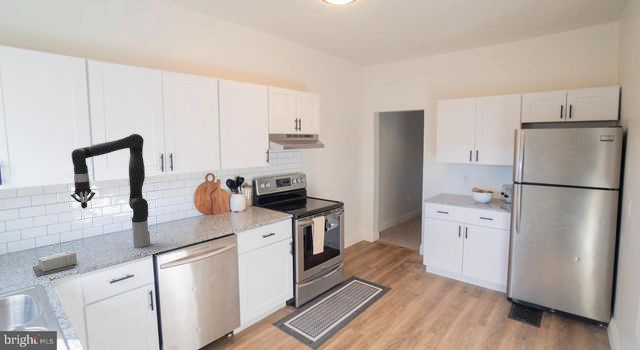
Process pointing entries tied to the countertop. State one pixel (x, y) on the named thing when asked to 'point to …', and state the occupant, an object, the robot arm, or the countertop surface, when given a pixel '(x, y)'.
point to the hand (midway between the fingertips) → (84, 208)
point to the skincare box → (57, 260)
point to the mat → (40, 272)
